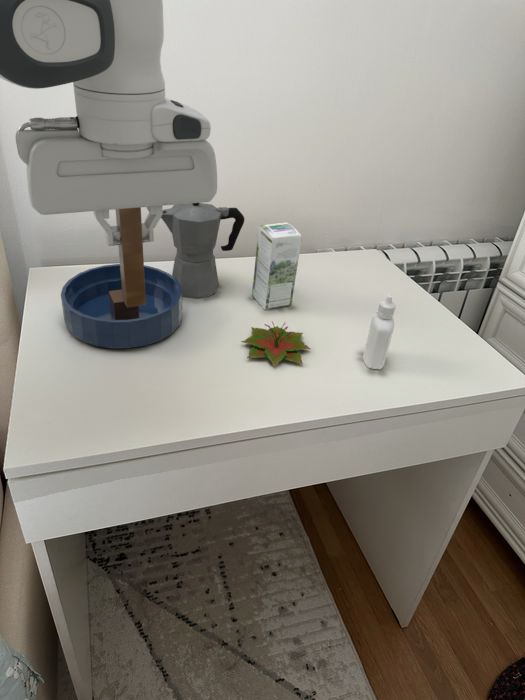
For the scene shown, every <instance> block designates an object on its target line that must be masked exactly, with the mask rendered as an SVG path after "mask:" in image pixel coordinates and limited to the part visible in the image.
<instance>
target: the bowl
mask: <svg viewBox="0 0 525 700" xmlns="http://www.w3.org/2000/svg"><path fill="white" fill-rule="evenodd" d="M144 278H145V296H146V305H141V306H139V318H136V319H130V320H114V318H113V316H112V314H111V311H110V301H109V291H114V290H121V289H122V283H121V271H120V263H114V264H113V263H112V264H105V265H100V266H96V267H92V268H89V269H86V270H83V271H82V272H79V273H77V274H76V275H74V276H73V277H70V279H68V280H67V281H66V283H65V284H64V285H63V286H62V289H61V292H60V299H61V306H62V307H61V308H62V313H63V319H64V323H65V325H66V326H65V327H66V329H67V330H68V332H69V333H70V334H71V335H72V336H73V337H75V338H76V339H78V340H80V341H82V342H83V343H86V344H89V345H92V346H96V347H101V348H108V349H132V348H133V349H134V348H138V347H144V346H148V345H152V344H154V343H157V342H159V341H162V340H163V339H165V338H167V337H169V336H170V335H172V334H173V333H174V332H175V331H176V330H177V329H178V328H179V327H180V325H181V322H182V320H183V296H182V288H181V285H180V284H179V282H178V281H177V279H176V278H174V277H173V276H172V274H170V273H169V272H166V271H165V270H162V269H160V268H158V267H153V266H149V265H145V264H144Z"/></svg>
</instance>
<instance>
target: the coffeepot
mask: <svg viewBox="0 0 525 700" xmlns="http://www.w3.org/2000/svg"><path fill="white" fill-rule="evenodd" d="M162 213H163V214H162V216H161V218H160V219H161V220H162V221H163V222H164V224H165V225H166V227H167V229H168V230H169V232H170V233H171V236H172V241H173V246H174V247H175V249H176V254H175V257H174V261H173V266H172V274H171V275H172V276H173V277H174V278H176V279H177V281H178V282H179V284H180V285H181V288H182V297H184V298H188V299H189V298H190V299H201V298H207V297H210V296H212V295H214V294H215V293H216V292H217V291H218V287H219V285H220V283H219V277H218V270H217V263H216V257H215V255H214V249H215V248H216V245H217V240H218V234H219V230H220V225H221V221H222V220H229V219H234V221H233V224H232V227H231V232H230V234H229V235H228V241H227V244H226V245H221V246H220V248H221V251H223V252H228V251H232V250H234V247H235V244H236V242H237V239H238V237H239V235H240V233H241V230H242V228H243V226H244V223H245V217H244V215H243V213H242V212H241V210H239V209H238V208H237V207H226V206H224V207H216V206H215V205H213V204H210V203H206V202H202V203H190V204H177V205H172V207H170V208H165V209H162Z"/></svg>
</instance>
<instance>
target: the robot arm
mask: <svg viewBox="0 0 525 700" xmlns="http://www.w3.org/2000/svg"><path fill="white" fill-rule="evenodd" d="M163 2H164V1H163V0H0V79H2V80H4V81H6V82H8V83H10V84H11V85H15V86H17V87H21V88H26V89H33V90H35V89H37V90H39V89H40V90H41V89H47V88H53V87H58V86H63V85H67V84H72V85H73V94H74V103H75V111H76V116H66V117H65V116H63V117H62V116H59V117H54V118H53V117H52V118H44V117H32V118H29V119H28V121H29V122H25V123H23V124H21V125H20V126H19V127H18V128H17V130H16V132H15V144H16V149H17V150H16V151H17V154H18V156H19V158H20V160H21V161H22V162H23V163H24V164H25V165H26V180H27V182H26V183H27V191H28V196H29V197H28V198H29V202H30V205H31V207H32V209H34V211H36V212H37V213H38V214H39V215H41V216H51V215H61V214H72V213H73V214H74V213H89V212H93V215H94V217H95V219H96V221H97V222H98V223H99V225H100V226H101V227H102V229H103V230H104V233H105V241H106V244H107V246H108V247H115V246H118V245H121V239H120V238H121V233H120V230H119V228H118V226H117V225H111V224H110V223H109V222H108V219H110V211H111V210H112V211H113V210H115V209H126V208H139V207H141V208H146V209H147V211H148V214H147V216H146V218H145V219H144V222H142V240H143V243H152V242H154V241H155V235H154V233H155V231H154V229H155V228H156V226H157V225H158V223H159V222H160V220H161V219H162V218H161V216H162V214H163V213H162V211H163V206H174V205H177V204H190V203H210V202H211V201H212V200H213V199H214V197H216V195H217V193H218V168H217V167H218V165H217V158H216V157H217V156H216V152H215V149H214V147H213V145H212V144H211V143H210V141H208V140H207V139H209V138H210V135H211V127H212V125H211V122H210V121H209V119H208V118H207V117H206V116H205V115H204V114H203V113H201V112H200V111H198V110H197V109H195V108H193V107H191V106H189V105H187V104H184V103H181V102H178V101H177V100H173V99H170V98H167V97H166V83H165V78H164V75H163V71H162V65H161V55H162V49H163V45H164V40H165V37H164V36H165V33H164V32H165V28H164V23H165V22H164V3H163ZM27 128H30V129H27Z"/></svg>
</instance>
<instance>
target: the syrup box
mask: <svg viewBox="0 0 525 700" xmlns="http://www.w3.org/2000/svg"><path fill="white" fill-rule="evenodd" d="M257 229H258V231H257V239H256V249H255V250H256V251H255V259H254V260H255V261H254V270H253V271H254V272H253V282H252V289H251V290H252V292H251V296H252V297H253V298H254V300H256V302H257V303H258V304H259V305H260V306H261V307H262V308H263V309H264V310H265V311H267V310H274V309H278V308H285V307H290V306H292V304H293V298H294V291H295V286H296V278H297V273H298V272H297V271H298V264H299V260H300V259H299V258H300V254H301V253H300V251H301V247H302V246H301V245H302V239H303V235H302V234H301V233H300V231H298V230H297V229H296V228H295V227H294V226H293V225H292V224H290V223H288V222H287V221H286V222H278V223H269V224H260V225H258V228H257Z"/></svg>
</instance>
